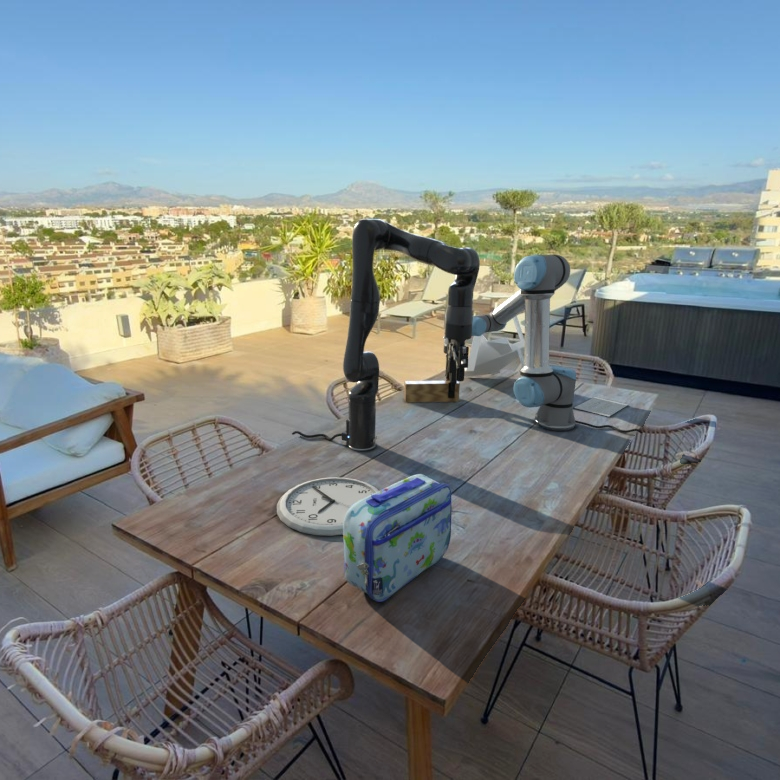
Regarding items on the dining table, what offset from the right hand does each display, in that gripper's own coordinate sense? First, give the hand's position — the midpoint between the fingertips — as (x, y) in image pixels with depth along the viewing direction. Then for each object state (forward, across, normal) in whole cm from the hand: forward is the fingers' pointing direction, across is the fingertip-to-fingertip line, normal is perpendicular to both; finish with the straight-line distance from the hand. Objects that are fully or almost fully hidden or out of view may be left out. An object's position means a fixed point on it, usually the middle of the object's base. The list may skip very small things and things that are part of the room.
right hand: (449, 395), depth 232 cm
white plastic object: (+2, -24, +29) cm, 37 cm away
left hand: (-30, +73, -15) cm, 80 cm away
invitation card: (+2, +13, +64) cm, 65 cm away
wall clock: (+2, +89, -51) cm, 103 cm away
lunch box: (+2, +120, -36) cm, 125 cm away
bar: (+2, 0, -8) cm, 9 cm away
